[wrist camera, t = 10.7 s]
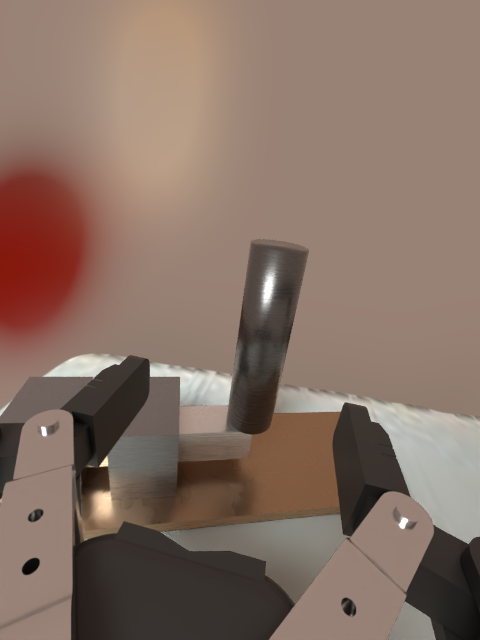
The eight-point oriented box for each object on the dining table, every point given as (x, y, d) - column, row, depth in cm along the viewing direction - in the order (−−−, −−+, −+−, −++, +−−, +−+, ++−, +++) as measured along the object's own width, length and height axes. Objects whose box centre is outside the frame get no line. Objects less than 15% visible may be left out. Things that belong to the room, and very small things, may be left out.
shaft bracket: (342, 417, 30) (360, 365, 27) (399, 507, 22) (433, 445, 19) (31, 427, 24) (17, 362, 22) (-43, 552, 16) (-80, 473, 14)
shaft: (260, 427, 24) (297, 242, 18) (270, 460, 22) (318, 255, 15) (23, 435, 21) (-31, 210, 15) (-2, 476, 18) (-81, 219, 12)
